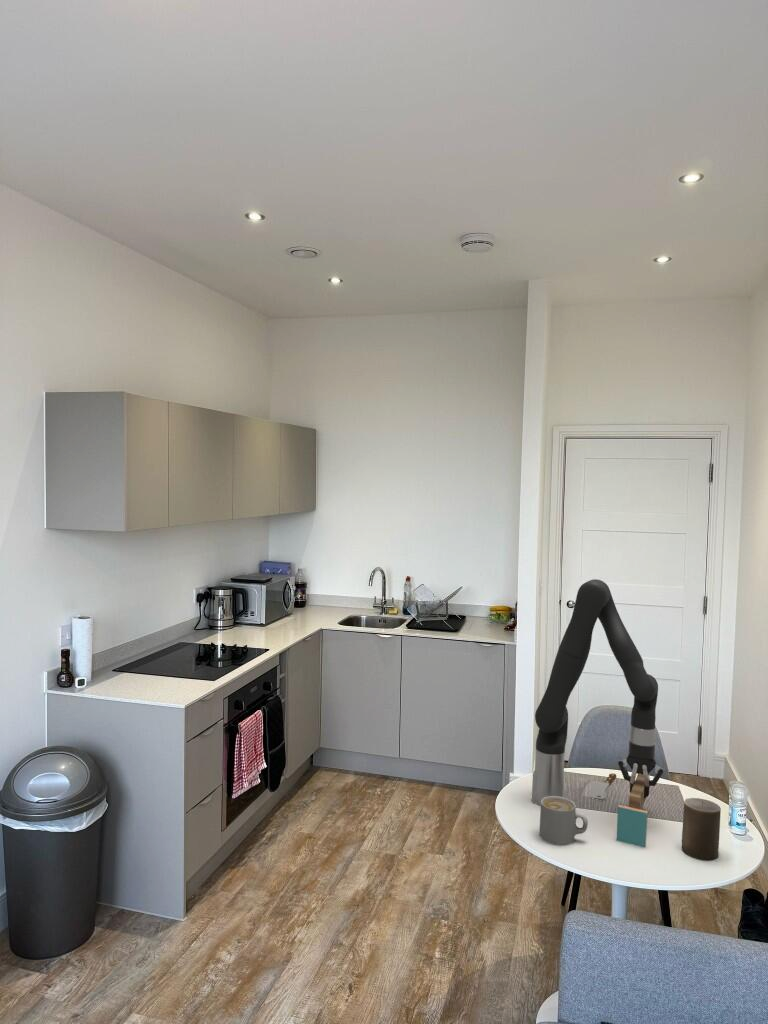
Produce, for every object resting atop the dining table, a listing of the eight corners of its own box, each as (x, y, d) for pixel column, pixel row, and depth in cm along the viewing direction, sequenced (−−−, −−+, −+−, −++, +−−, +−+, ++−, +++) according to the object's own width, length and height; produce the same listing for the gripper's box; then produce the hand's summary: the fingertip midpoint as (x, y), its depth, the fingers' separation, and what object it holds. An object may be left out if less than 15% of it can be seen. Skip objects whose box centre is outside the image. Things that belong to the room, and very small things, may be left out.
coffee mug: (534, 838, 209) (536, 805, 208) (545, 825, 217) (547, 793, 217) (580, 852, 202) (582, 817, 201) (590, 838, 210) (591, 804, 210)
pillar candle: (711, 864, 198) (714, 811, 197) (675, 851, 204) (678, 799, 204) (723, 852, 205) (726, 800, 204) (688, 840, 211) (691, 789, 211)
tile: (616, 840, 209) (618, 806, 209) (617, 838, 211) (618, 804, 210) (645, 847, 206) (646, 813, 205) (645, 845, 207) (647, 811, 207)
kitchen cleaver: (594, 769, 261) (622, 775, 255) (594, 772, 261) (622, 777, 255) (573, 793, 240) (604, 800, 235) (573, 796, 240) (604, 803, 235)
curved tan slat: (639, 817, 210) (640, 797, 210) (628, 815, 211) (629, 795, 211) (648, 790, 230) (649, 771, 229) (638, 788, 231) (639, 769, 231)
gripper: (616, 739, 220) (613, 795, 220) (665, 749, 213) (662, 806, 214) (620, 732, 226) (617, 786, 227) (667, 741, 220) (664, 796, 221)
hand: (639, 795), depth 220 cm, fingers closed on curved tan slat, 3 cm apart
